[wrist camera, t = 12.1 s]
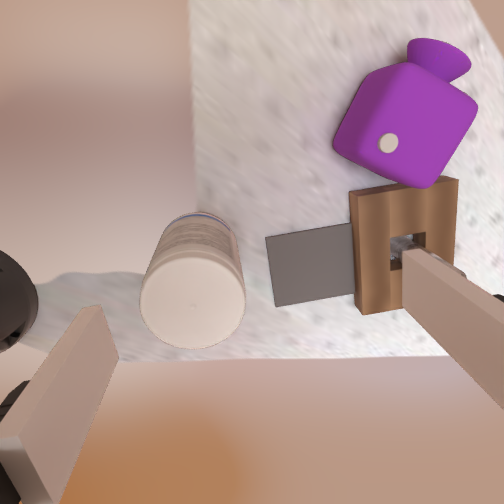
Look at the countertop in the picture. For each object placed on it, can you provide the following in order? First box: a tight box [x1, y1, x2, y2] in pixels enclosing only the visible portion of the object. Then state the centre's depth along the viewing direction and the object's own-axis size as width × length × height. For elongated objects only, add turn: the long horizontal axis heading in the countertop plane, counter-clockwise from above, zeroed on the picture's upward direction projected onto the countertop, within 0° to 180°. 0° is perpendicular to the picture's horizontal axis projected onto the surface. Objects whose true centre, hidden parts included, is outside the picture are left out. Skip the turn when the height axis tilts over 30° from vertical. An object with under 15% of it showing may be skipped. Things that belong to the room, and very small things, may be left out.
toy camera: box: [333, 38, 478, 189], centre depth 36 cm, size 11×14×10 cm
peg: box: [390, 235, 467, 279], centre depth 41 cm, size 3×3×12 cm
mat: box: [265, 223, 355, 307], centre depth 47 cm, size 12×10×1 cm
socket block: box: [349, 176, 459, 315], centre depth 45 cm, size 12×16×3 cm
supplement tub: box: [139, 212, 246, 349], centre depth 38 cm, size 10×10×15 cm
